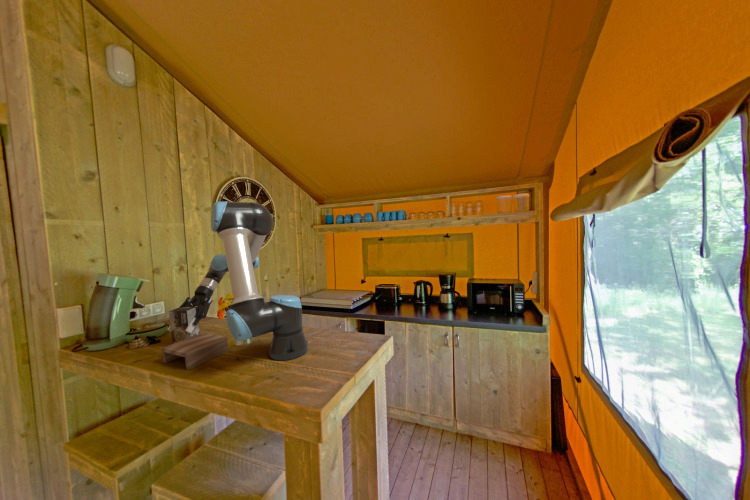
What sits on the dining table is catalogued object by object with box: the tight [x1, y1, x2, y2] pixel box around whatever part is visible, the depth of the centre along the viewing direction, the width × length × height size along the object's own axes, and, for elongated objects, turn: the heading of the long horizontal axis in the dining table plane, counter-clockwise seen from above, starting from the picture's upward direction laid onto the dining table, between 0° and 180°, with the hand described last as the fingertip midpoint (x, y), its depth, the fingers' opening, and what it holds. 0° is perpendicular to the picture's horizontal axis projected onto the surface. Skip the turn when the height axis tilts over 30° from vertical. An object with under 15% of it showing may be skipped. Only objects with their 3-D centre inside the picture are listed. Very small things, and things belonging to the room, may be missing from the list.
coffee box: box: [168, 306, 201, 344], centre depth 120 cm, size 9×6×16 cm
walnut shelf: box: [161, 332, 229, 371], centre depth 106 cm, size 16×16×6 cm
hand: (179, 331), depth 117 cm, fingers closed on coffee box, 10 cm apart
